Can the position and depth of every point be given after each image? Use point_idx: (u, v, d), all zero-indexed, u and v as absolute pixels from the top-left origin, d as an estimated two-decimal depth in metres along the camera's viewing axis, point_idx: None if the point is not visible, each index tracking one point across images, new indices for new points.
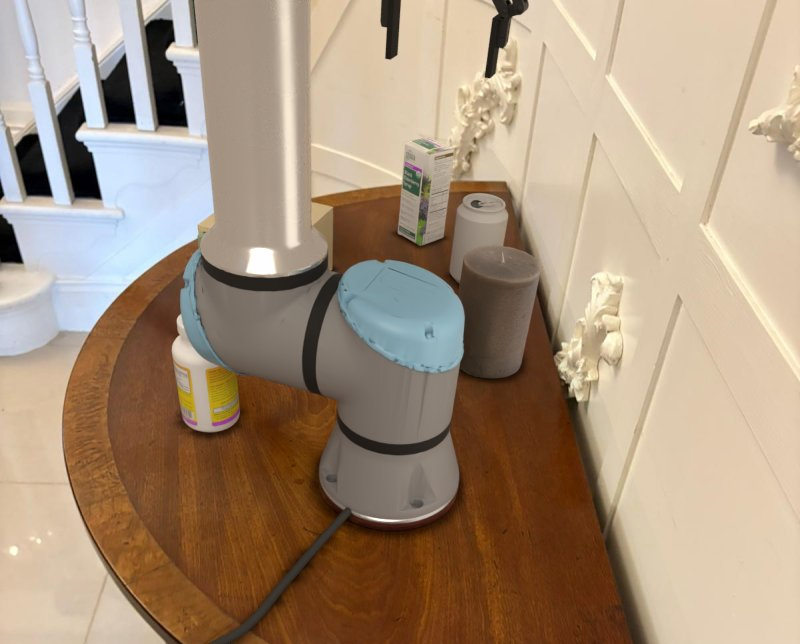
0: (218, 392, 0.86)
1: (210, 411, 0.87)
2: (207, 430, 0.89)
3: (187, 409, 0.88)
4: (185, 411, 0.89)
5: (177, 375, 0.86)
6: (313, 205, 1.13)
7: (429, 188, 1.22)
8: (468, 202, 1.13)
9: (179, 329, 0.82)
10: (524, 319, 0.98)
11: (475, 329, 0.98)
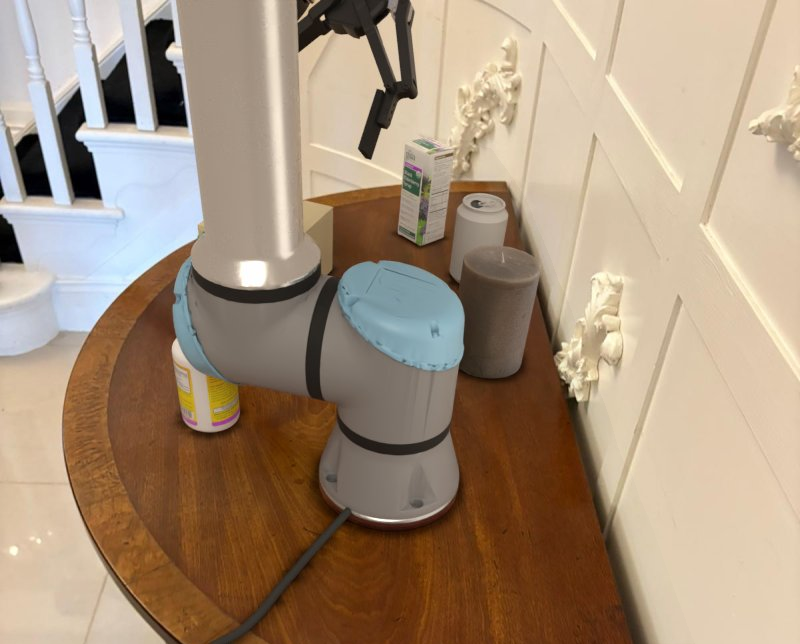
0: (218, 392, 0.86)
1: (210, 411, 0.87)
2: (207, 430, 0.89)
3: (187, 409, 0.88)
4: (185, 411, 0.89)
5: (177, 375, 0.86)
6: (313, 205, 1.13)
7: (429, 188, 1.22)
8: (468, 202, 1.13)
9: None
10: (524, 319, 0.98)
11: (475, 329, 0.98)
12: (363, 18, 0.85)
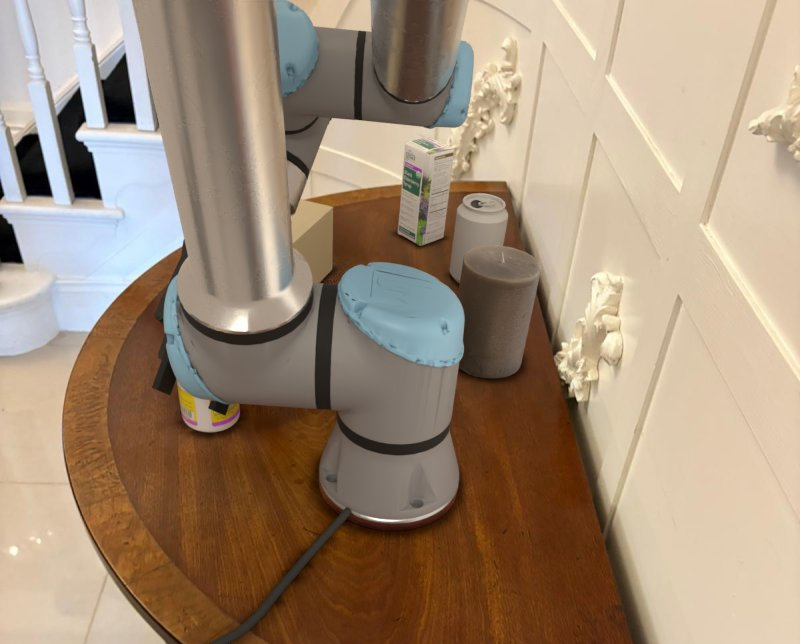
0: None
1: (210, 411, 0.87)
2: (207, 430, 0.89)
3: (187, 409, 0.88)
4: (185, 411, 0.89)
5: None
6: (313, 205, 1.13)
7: (429, 188, 1.22)
8: (468, 202, 1.13)
9: None
10: (524, 319, 0.98)
11: (475, 329, 0.98)
12: None
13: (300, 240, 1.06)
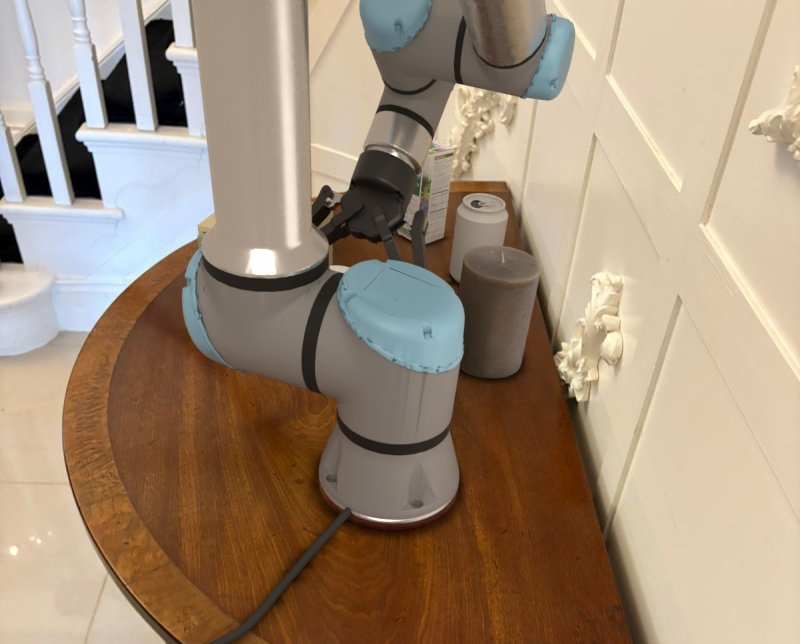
0: None
1: None
2: None
3: None
4: None
5: None
6: None
7: (429, 188, 1.22)
8: (468, 202, 1.13)
9: None
10: (524, 319, 0.98)
11: (475, 329, 0.98)
12: (381, 228, 0.92)
13: None
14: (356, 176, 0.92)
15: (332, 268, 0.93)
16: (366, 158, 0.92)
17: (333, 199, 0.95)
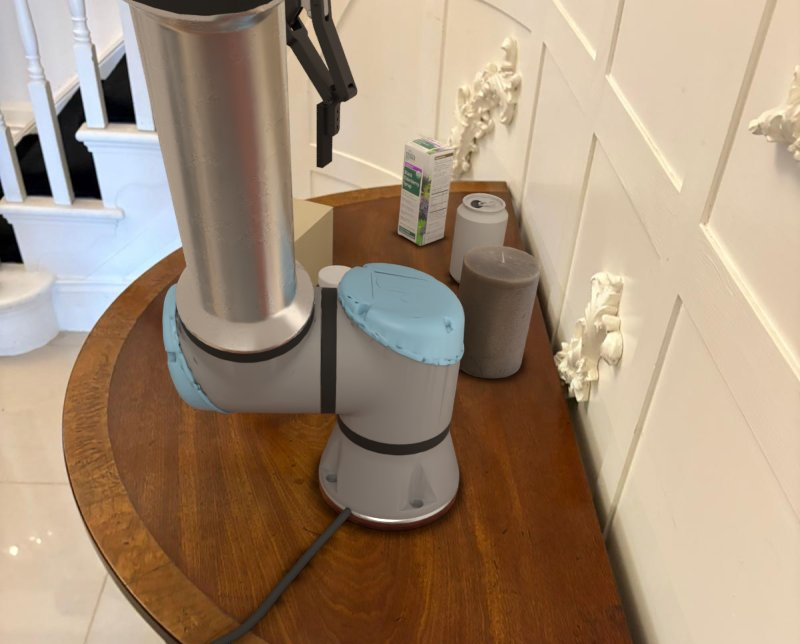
0: None
1: None
2: None
3: None
4: None
5: None
6: (313, 205, 1.13)
7: (429, 188, 1.22)
8: (468, 202, 1.13)
9: (321, 283, 0.92)
10: (524, 319, 0.98)
11: (475, 329, 0.98)
12: None
13: (300, 240, 1.06)
14: None
15: (332, 268, 0.93)
16: None
17: None
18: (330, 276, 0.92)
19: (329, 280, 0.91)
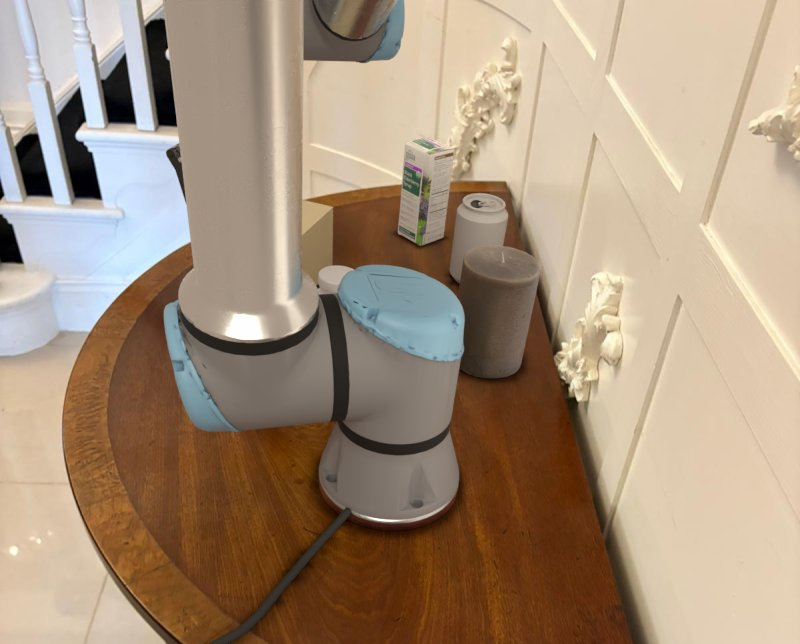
0: None
1: None
2: None
3: None
4: None
5: None
6: (313, 205, 1.13)
7: (429, 188, 1.22)
8: (468, 202, 1.13)
9: (321, 283, 0.92)
10: (524, 319, 0.98)
11: (475, 329, 0.98)
12: None
13: None
14: None
15: (332, 268, 0.93)
16: None
17: None
18: (330, 276, 0.92)
19: (329, 280, 0.91)
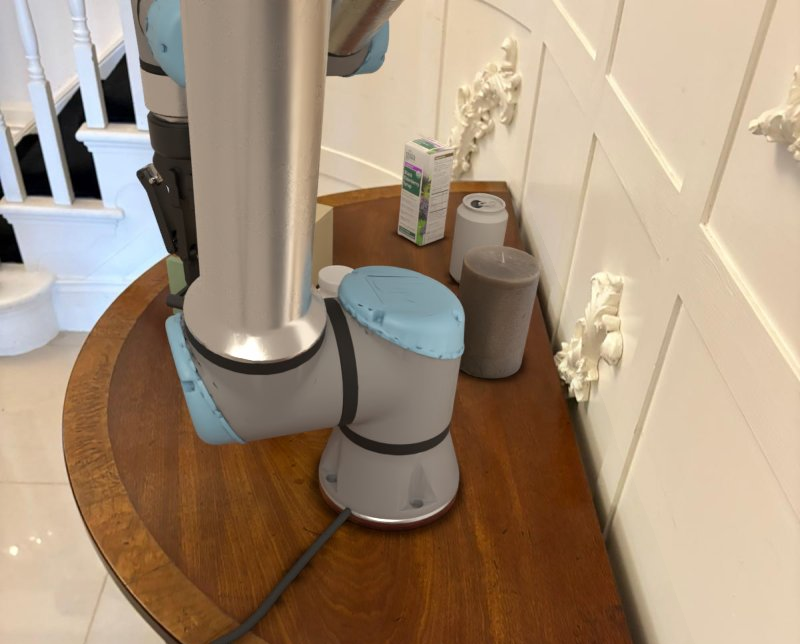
0: None
1: None
2: None
3: None
4: None
5: None
6: None
7: (429, 188, 1.22)
8: (468, 202, 1.13)
9: (321, 283, 0.92)
10: (524, 319, 0.98)
11: (475, 329, 0.98)
12: (192, 200, 0.89)
13: None
14: (154, 150, 0.85)
15: (332, 268, 0.93)
16: (153, 132, 0.83)
17: (153, 173, 0.90)
18: (330, 276, 0.92)
19: (329, 280, 0.91)
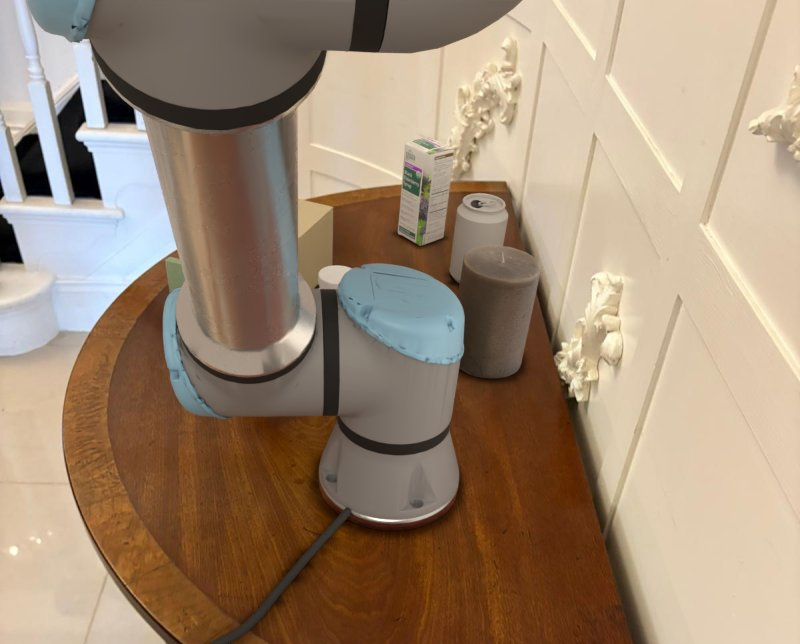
0: None
1: None
2: None
3: None
4: None
5: None
6: (313, 205, 1.13)
7: (429, 188, 1.22)
8: (468, 202, 1.13)
9: (321, 283, 0.92)
10: (524, 319, 0.98)
11: (475, 329, 0.98)
12: None
13: (300, 240, 1.06)
14: None
15: (332, 268, 0.93)
16: None
17: None
18: (330, 276, 0.92)
19: (329, 280, 0.91)
